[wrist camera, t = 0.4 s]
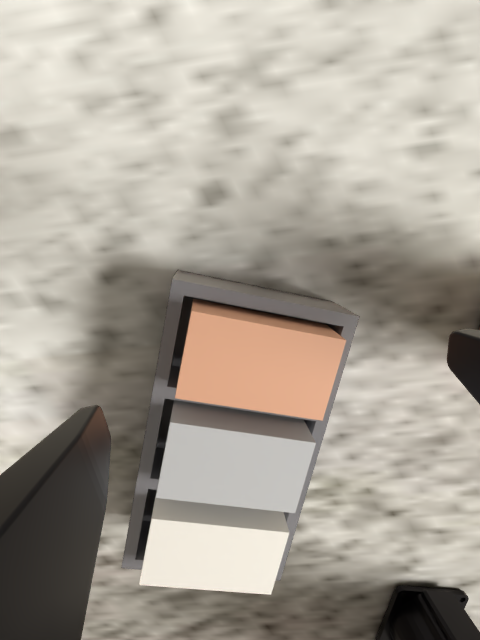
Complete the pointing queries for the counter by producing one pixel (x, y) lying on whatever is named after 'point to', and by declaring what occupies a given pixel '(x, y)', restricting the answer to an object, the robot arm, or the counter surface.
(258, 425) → the grey key
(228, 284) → the key panel
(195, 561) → the white key
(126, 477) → the counter surface
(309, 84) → the counter surface
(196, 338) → the terracotta key
